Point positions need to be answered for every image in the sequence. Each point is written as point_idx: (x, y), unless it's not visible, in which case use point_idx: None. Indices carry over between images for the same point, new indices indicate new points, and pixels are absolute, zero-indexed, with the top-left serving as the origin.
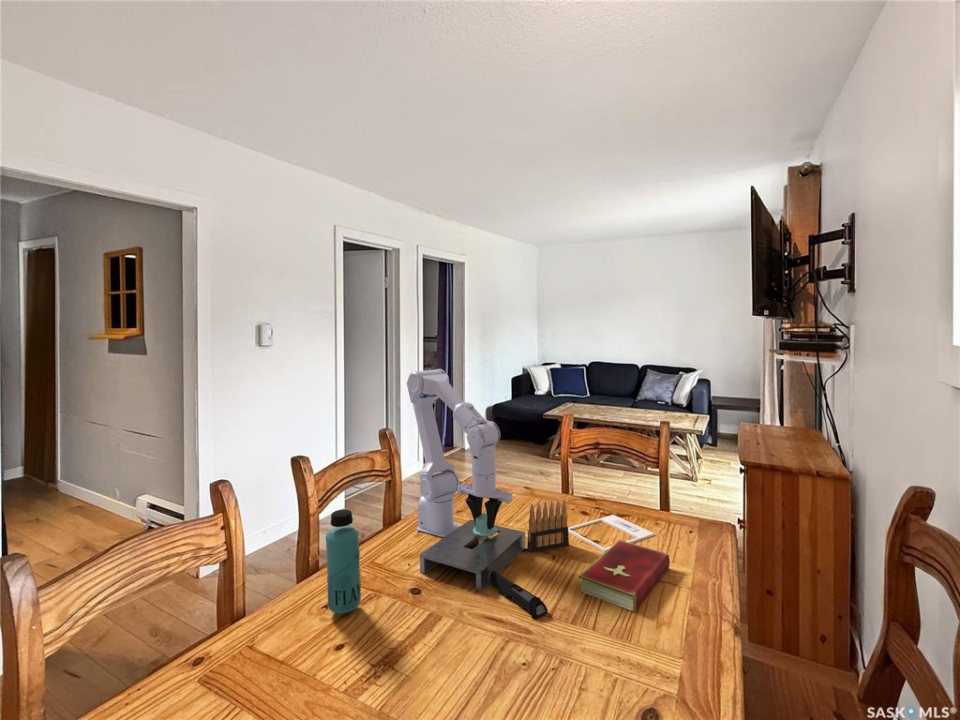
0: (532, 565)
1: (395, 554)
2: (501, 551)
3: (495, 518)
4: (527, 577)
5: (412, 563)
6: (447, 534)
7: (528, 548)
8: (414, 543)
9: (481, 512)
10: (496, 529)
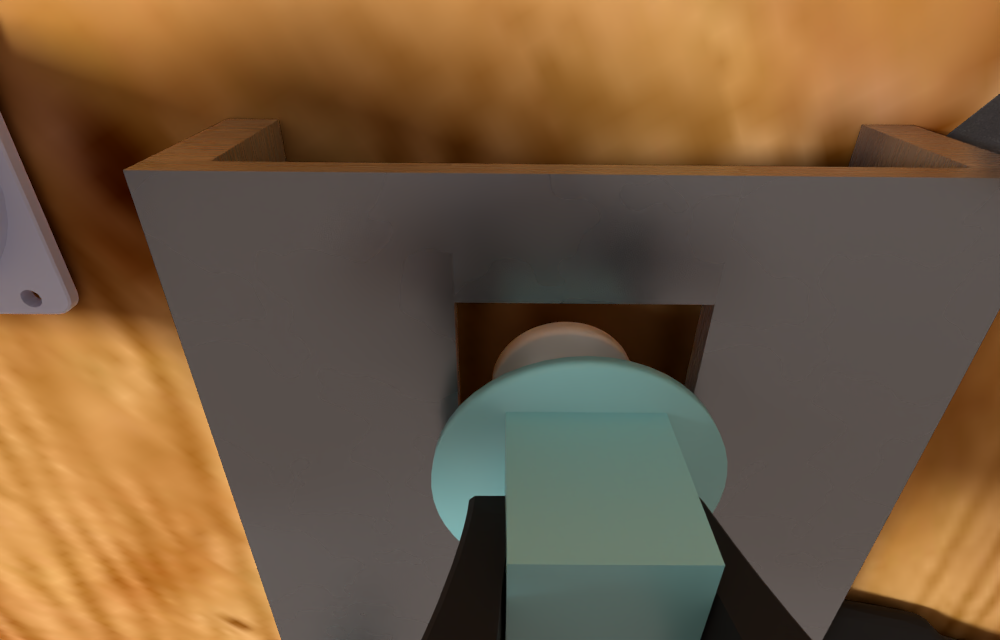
0: (992, 365)
1: (72, 589)
2: (828, 601)
3: (765, 589)
4: (955, 491)
5: (242, 613)
6: (59, 264)
7: (962, 139)
8: (5, 463)
9: (497, 627)
10: (711, 437)
